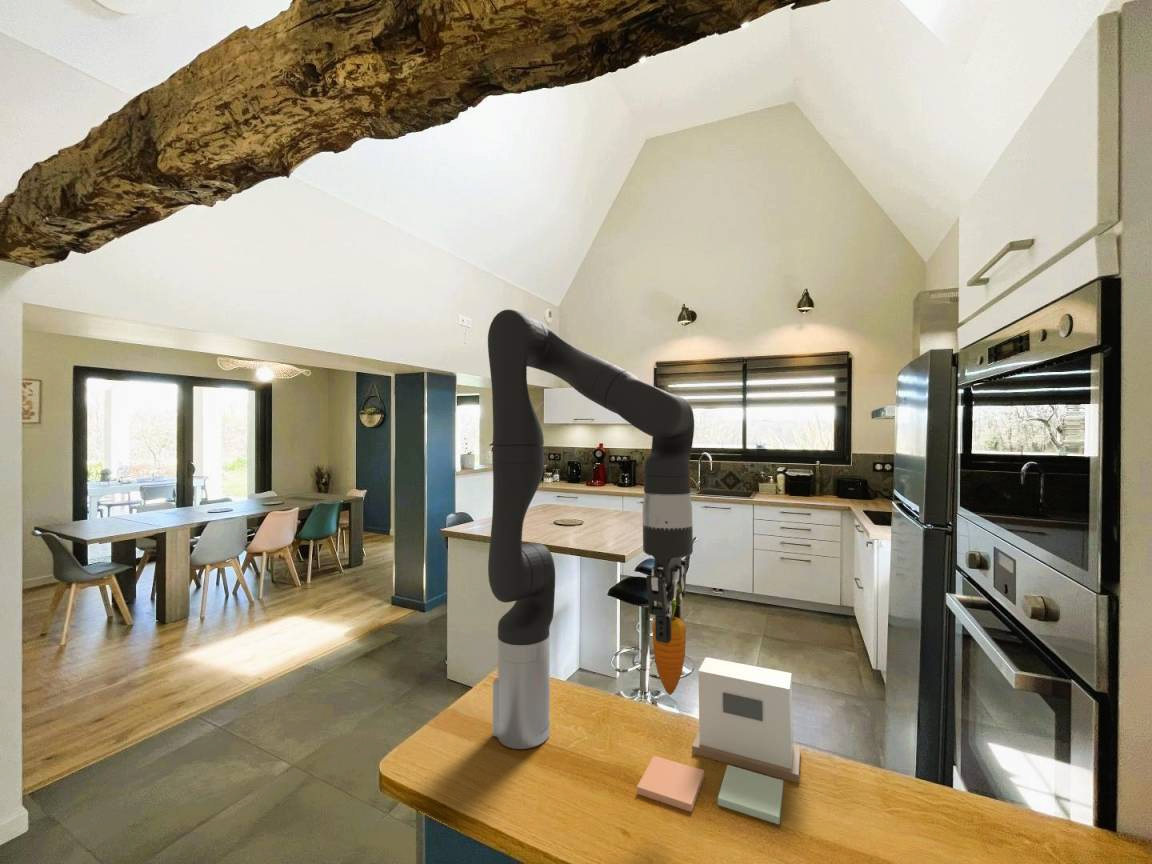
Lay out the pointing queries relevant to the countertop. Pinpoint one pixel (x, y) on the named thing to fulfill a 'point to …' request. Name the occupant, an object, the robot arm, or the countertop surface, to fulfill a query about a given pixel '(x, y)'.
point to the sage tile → (751, 794)
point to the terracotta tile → (671, 783)
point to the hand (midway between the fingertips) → (668, 634)
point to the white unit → (747, 718)
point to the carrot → (670, 653)
